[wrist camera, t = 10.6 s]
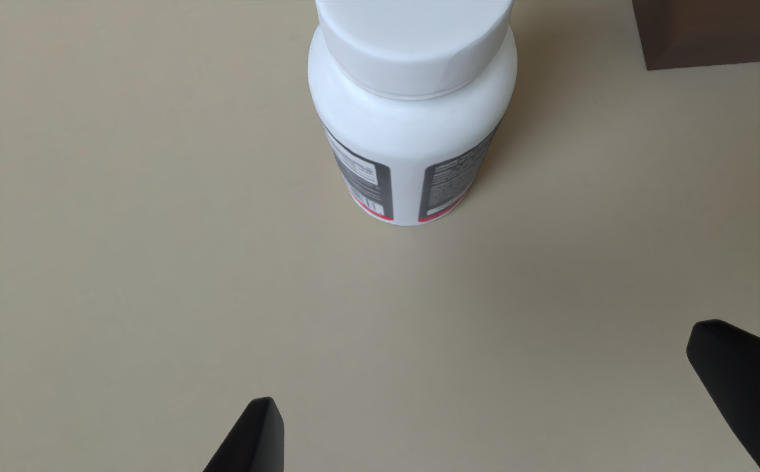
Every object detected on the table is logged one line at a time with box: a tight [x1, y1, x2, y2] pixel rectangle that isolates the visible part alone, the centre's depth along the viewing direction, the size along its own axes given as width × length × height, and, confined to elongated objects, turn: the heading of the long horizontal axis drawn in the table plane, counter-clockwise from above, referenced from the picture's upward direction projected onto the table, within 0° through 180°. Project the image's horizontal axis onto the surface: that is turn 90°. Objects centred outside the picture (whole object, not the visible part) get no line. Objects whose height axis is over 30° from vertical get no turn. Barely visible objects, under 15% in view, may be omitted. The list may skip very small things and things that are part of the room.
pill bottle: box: [308, 0, 517, 226], centre depth 13 cm, size 5×5×10 cm
